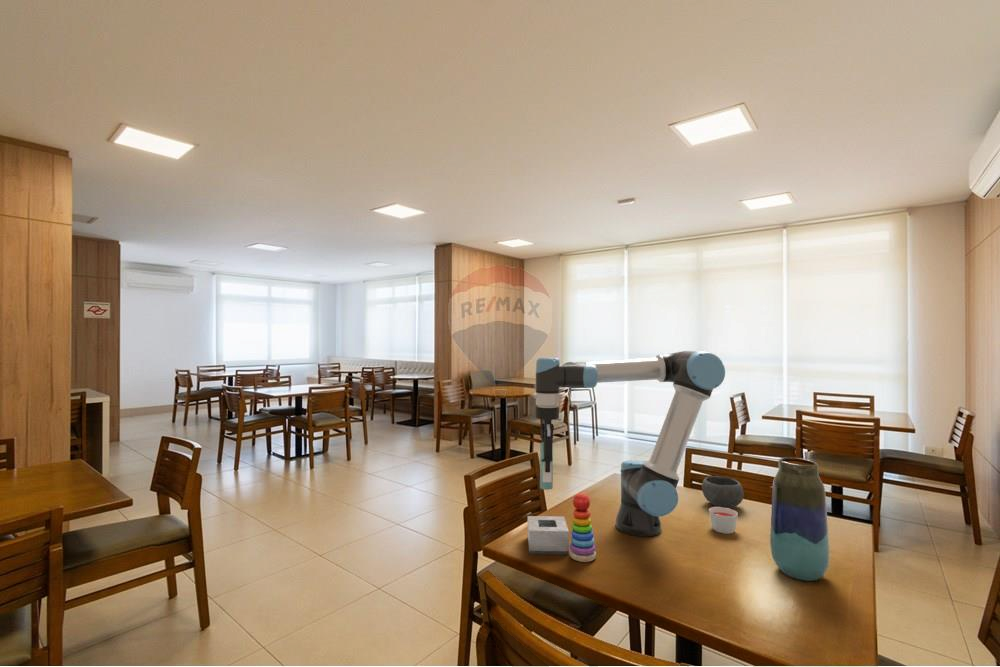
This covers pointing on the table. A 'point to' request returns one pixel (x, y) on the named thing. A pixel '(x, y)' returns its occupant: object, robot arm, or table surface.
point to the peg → (542, 484)
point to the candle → (723, 519)
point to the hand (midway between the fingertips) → (546, 479)
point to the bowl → (722, 491)
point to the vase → (799, 520)
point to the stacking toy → (582, 531)
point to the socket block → (548, 535)
